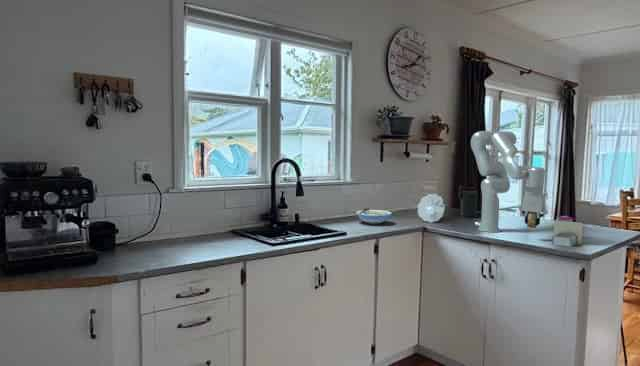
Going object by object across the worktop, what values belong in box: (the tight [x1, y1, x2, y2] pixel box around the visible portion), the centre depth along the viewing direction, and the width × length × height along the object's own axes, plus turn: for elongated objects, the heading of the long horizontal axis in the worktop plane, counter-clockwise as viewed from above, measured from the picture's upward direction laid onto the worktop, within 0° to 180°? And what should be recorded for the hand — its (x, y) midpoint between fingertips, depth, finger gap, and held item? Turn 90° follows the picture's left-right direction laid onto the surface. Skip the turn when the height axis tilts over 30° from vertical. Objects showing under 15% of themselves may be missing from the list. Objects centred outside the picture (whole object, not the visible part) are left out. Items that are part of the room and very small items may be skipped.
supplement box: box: [556, 215, 574, 222], centre depth 234 cm, size 6×6×12 cm
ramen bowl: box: [356, 207, 392, 225], centre depth 272 cm, size 25×23×8 cm
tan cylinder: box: [526, 212, 537, 229], centre depth 225 cm, size 4×4×8 cm
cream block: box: [551, 219, 584, 247], centre depth 217 cm, size 13×11×11 cm
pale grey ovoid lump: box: [417, 193, 446, 223], centre depth 287 cm, size 18×18×25 cm
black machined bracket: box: [457, 185, 478, 219], centre depth 307 cm, size 12×21×22 cm, turn 169°
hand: (531, 224), depth 225 cm, fingers closed on tan cylinder, 4 cm apart
